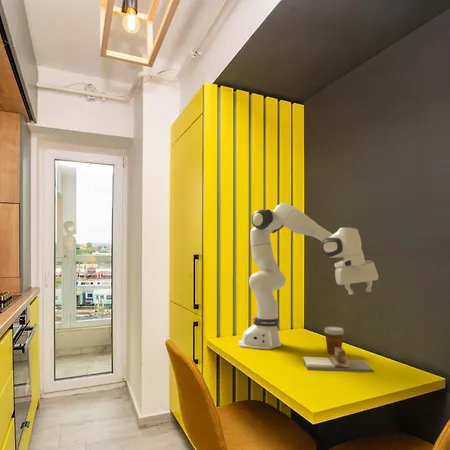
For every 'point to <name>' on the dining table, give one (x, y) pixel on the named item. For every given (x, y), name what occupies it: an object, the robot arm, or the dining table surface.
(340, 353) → the stub
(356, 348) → the dining table surface
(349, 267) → the robot arm
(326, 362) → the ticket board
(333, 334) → the disposable coffee cup
